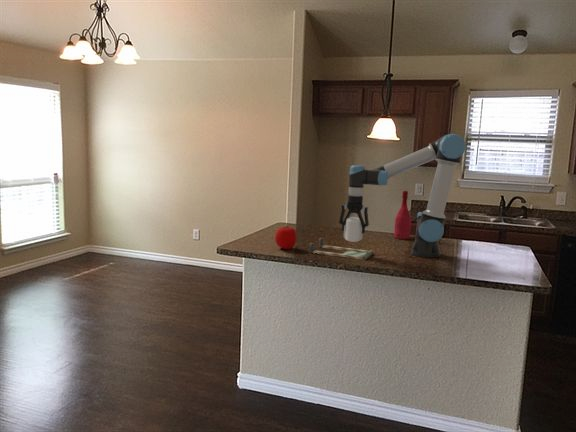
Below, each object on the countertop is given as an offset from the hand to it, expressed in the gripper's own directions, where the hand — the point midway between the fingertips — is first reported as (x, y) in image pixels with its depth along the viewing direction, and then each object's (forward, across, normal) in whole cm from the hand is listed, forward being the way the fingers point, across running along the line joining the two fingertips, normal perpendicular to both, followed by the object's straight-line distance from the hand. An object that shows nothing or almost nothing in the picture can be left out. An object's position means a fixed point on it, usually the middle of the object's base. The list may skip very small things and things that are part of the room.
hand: (352, 238), depth 246 cm
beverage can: (+1, 0, 0) cm, 1 cm away
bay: (+9, +6, 0) cm, 11 cm away
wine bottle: (+9, -16, -58) cm, 61 cm away
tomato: (+9, +36, +6) cm, 37 cm away
